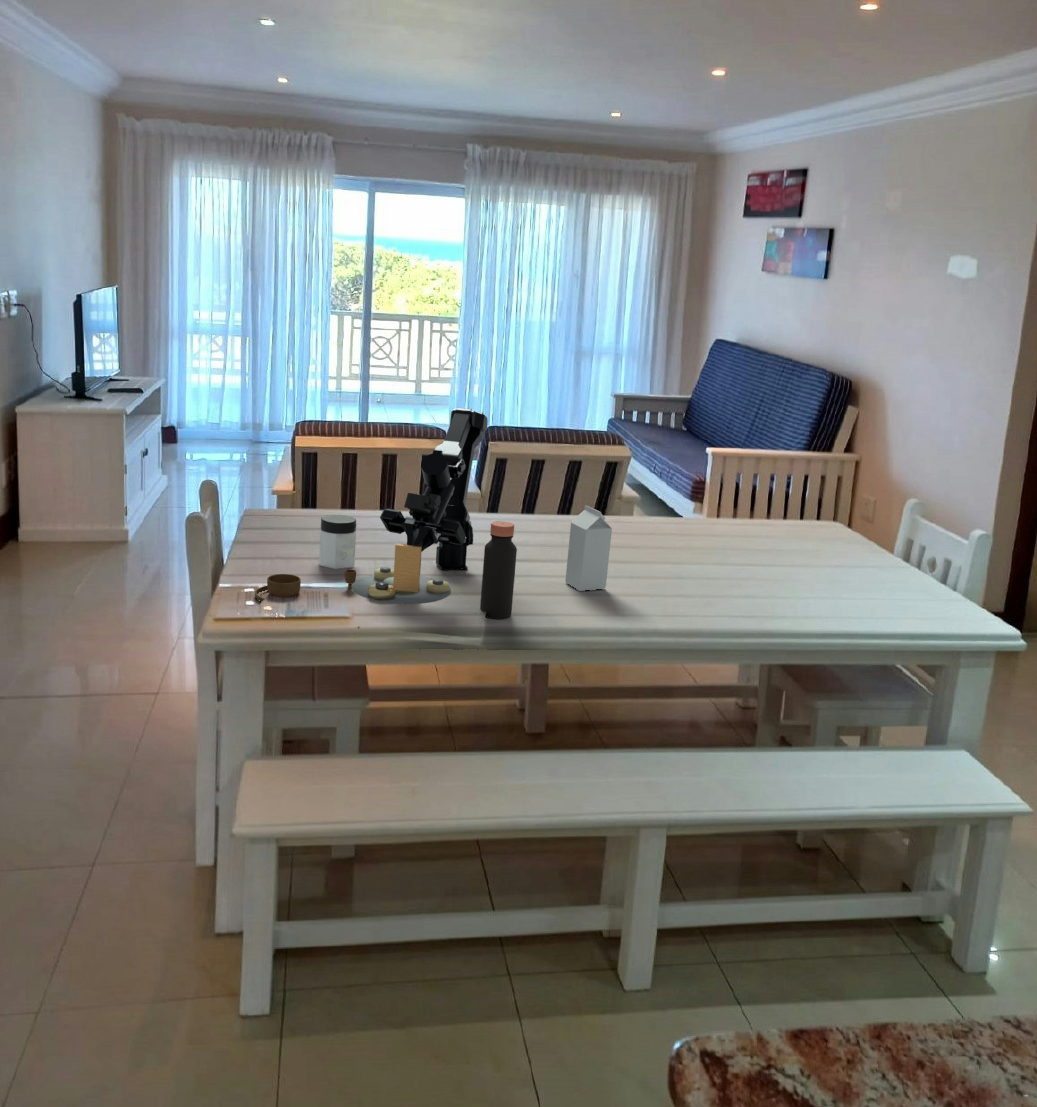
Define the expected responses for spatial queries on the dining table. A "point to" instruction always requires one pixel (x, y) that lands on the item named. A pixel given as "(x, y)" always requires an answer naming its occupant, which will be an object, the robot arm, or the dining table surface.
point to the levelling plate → (427, 591)
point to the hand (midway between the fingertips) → (408, 558)
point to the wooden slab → (401, 573)
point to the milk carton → (588, 551)
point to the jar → (337, 541)
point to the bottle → (499, 571)
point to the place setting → (293, 584)
